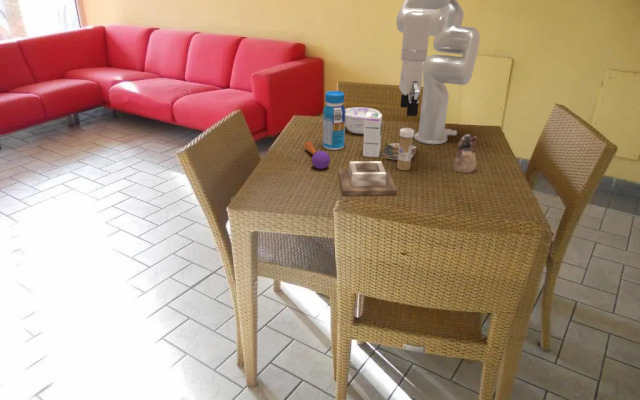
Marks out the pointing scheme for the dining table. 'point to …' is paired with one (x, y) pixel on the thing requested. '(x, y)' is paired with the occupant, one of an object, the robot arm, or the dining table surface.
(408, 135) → the sprinkles bottle
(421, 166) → the dining table surface
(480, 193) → the dining table surface
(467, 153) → the figurine
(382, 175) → the socket board
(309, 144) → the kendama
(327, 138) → the beverage bottle
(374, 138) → the syrup box
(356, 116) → the paper bowls
